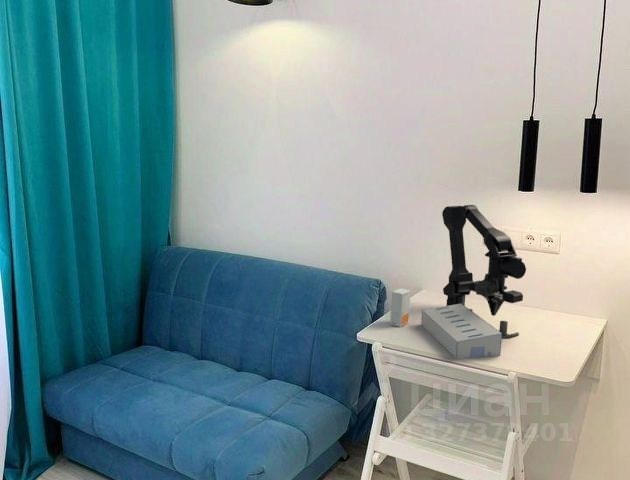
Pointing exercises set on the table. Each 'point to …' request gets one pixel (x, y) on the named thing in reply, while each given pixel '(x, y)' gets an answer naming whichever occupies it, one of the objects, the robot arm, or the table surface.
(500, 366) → the table surface
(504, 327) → the cord posts
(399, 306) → the skincare box
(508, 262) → the robot arm
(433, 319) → the grey slotted box
